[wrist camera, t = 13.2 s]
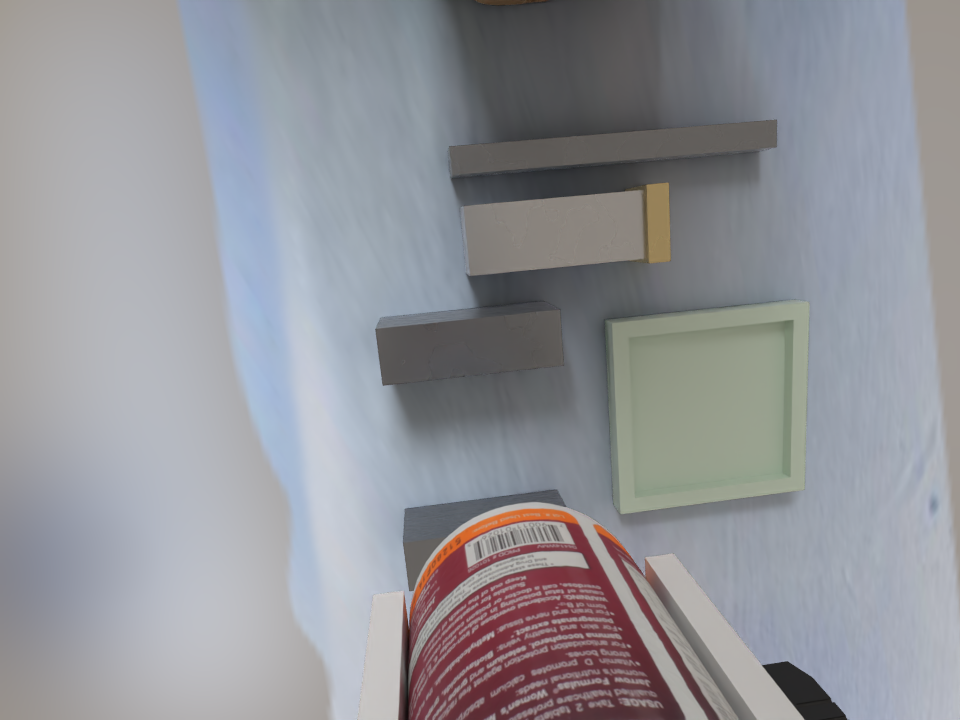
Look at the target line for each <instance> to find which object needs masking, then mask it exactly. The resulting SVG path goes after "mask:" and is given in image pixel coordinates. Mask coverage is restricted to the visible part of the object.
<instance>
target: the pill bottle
mask: <svg viewBox="0 0 960 720" xmlns="http://www.w3.org/2000/svg"><path fill="white" fill-rule="evenodd" d="M408 720H739V719H738V717H737V716H736V714H735V713H734V711H733V709H732V708H731V706H730V705H729V703H728V702H727V700H726V699H725V697H724V696H723V694H722V693H721V691H720V690H719V688H718V687H717V685H716V684H715V682H714V681H713V679H712V678H711V676H710V675H709V673H708V672H707V670H706V669H705V667H704V666H703V664H702V663H701V661H700V660H699V658H698V656H697V655H696V653H695V652H694V650H693V649H692V647H691V646H690V644H689V643H688V641H687V640H686V638H685V637H684V635H683V634H682V632H681V631H680V629H679V628H678V626H677V625H676V623H675V622H674V620H673V619H672V617H671V616H670V614H669V613H668V611H667V610H666V608H665V607H664V605H663V603H662V602H661V601H660V599H659V598H658V596H657V595H656V593H655V591H654V590H653V588H652V587H651V585H650V584H649V582H648V581H647V580H646V578H645V576H644V575H643V573H642V572H641V570H640V569H639V567H638V566H637V565H636V564H635V562H634V561H633V559H632V558H631V556H630V555H629V554H628V552H627V551H626V550H625V548H624V547H623V546H622V544H621V543H620V542H619V541H618V540H617V538H616V537H615V536H614V535H613V534H612V533H611V532H610V531H608V530H607V529H606V528H605V527H604V526H602V525H601V524H600V523H598V522H597V521H595V520H594V519H592V518H590V517H589V516H587V515H585V514H582V513H580V512H578V511H576V510H573V509H570V508H567V507H563V506H559V505H554V504H549V503H541V502H529V503H520V504H514V505H508V506H503V507H500V508H496V509H493V510H491V511H488V512H485V513H483V514H481V515H479V516H477V517H474V518H473V519H471V520H469V521H467V522H466V523H464V524H462V525H461V526H460V527H459V528H457V529H456V530H455V531H454V532H452V533H451V534H450V535H449V536H448V537H447V538H446V539H444V540H443V541H442V543H441V544H440V545H439V546H438V547H437V548H436V549H435V550H434V552H433V553H432V554H431V556H430V557H429V559H428V560H427V562H426V563H425V565H424V567H423V569H422V571H421V573H420V575H419V577H418V579H417V582H416V585H415V588H414V592H413V595H412V601H411V607H410V620H409V662H408Z"/></svg>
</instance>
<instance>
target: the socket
mask: <svg viewBox="0 0 960 720" xmlns="http://www.w3.org/2000/svg"><path fill="white" fill-rule="evenodd" d="M375 330H376V338H377V345H378V353H379V361H380V368H381V376H382V384H383V386H384V385H393V384H402V383H411V382H420V381H429V380H438V379H447V378H455V377H464V376H473V375H482V374H491V373H500V372H509V371H518V370H527V369H536V368H545V367H554V366H563V365H564V363H563V347H562V331H561V315H560V309H558V308H556V307H554V306H552V305H551V304H549V303H547V302H545V301H539V302H529V303H519V304H510V305H500V306H490V307H480V308H471V309H461V310H451V311H442V312H432V313H422V314H413V315H403V316H393V317H383V318H380V320H379V322H378V324H377V326H376V329H375ZM529 502H541V503H549V504H554V505H559V506H563V507H566V506H565V504H564V502H563V500H562V498H561V496H560V495H559V493H558V491H557V490H549V491H541V492H534V493H526V494H518V495H510V496H502V497H495V498H487V499H479V500H471V501H463V502H455V503H448V504H440V505H432V506H424V507H416V508H409V509H405V517H404V535H403V546H404V554H405V561H406V569H407V577H408V585H409V591H414V588H415V585H416V582H417V579H418V577H419V575H420V573H421V571H422V569H423V567H424V565H425V563H426V562H427V560H428V559H429V557H430V556H431V554H432V553H433V552H434V550H435V549H436V548H437V547H438V546H439V545H440V544H441V543H442V541H443V540H444V539H446V538H447V537H448V536H449V535H450V534H451V533H452V532H454V531H455V530H456V529H457V528H459V527H460V526H461V525H462V524H464V523H466V522H467V521H469V520H471V519H473V518H474V517H477V516H479V515H481V514H483V513H485V512H488V511H491V510H493V509H496V508H500V507H503V506H508V505H514V504H520V503H529Z"/></svg>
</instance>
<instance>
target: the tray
mask: <svg viewBox="0 0 960 720" xmlns="http://www.w3.org/2000/svg"><path fill="white" fill-rule="evenodd" d="M605 339H606V361H607V382H608V403H609V424H610V446H611V467H612V488H613V504H614V506H615V507H616V509H617V510H618V511H619V513H620V514H627V513H634V512H642V511H649V510H657V509H664V508H672V507H680V506H687V505H695V504H702V503H710V502H717V501H725V500H732V499H740V498H748V497H755V496H763V495H770V494H778V493H785V492H793V491H800V490H805V455H806V417H807V379H808V340H809V302H806V301H801V300H785V301H776V302H766V303H757V304H748V305H738V306H729V307H719V308H710V309H701V310H691V311H682V312H672V313H663V314H654V315H644V316H635V317H625V318H616V319H607V320H605Z"/></svg>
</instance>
